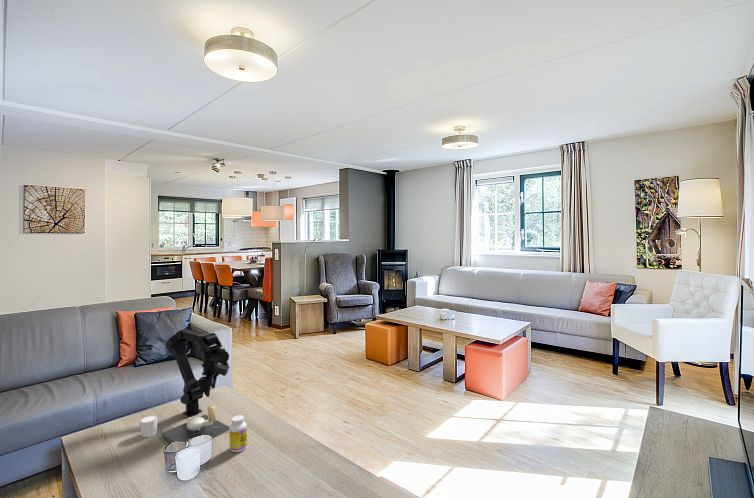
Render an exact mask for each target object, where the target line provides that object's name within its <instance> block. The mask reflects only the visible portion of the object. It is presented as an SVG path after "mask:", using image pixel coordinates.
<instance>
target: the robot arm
mask: <svg viewBox="0 0 754 498" xmlns="http://www.w3.org/2000/svg"><path fill="white" fill-rule="evenodd" d="M188 341H189V342H193V343H197V346H198V347H200V348H199V349H198V350H199V351H200V352H202V364H201V368H202V370H203V371H202V372H201V377H200V378H199V379H197V378H195V374H194V372H193V369H192V366H191V364H190V360H189V358H188V356H187V355H188V354H187V353H186V350H187V342H188ZM165 347H166V349H167V351H168V353H169V354H170V355H172V356H173V357H174V359H175V360H176V363H177V366H178V369H179V372H180V375H181V377H182V380H183V382H184V384H183V395H182V396H181V397H180V399H179V400H180V403H181V404H183V405H185V410H184V411H183V412H182V414H184V415H185V416H187V417H188V418H189V417H192V416H195V415H196V414H199V413H201V412H202V411H203V410H202V409H200V407H199V406H200V404H199V400H200V399H203V397H204V395H205V396H206V398H209V397H210V395H211V394H210V393H211V389H215V388H216V383H217V379H218V376H220V375H221V376H227V375H228V373H229V370H230V365H229V362H228V361H229V358H230V354H229V352H228V351H226V348H224V347H223V345H222V342H221V341H220V339H219V337H218V335H217V333H215V332H206V333H205V332H204V333H203V332H198V331H195V330H192V329H189V328H184V329H183V328H182V329H179V330H178V331H177V332H176V333H175V334H173V335H172V336H171V337H169V339H167V341H166V343H165Z"/></svg>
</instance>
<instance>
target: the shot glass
mask: <svg viewBox="0 0 754 498" xmlns="http://www.w3.org/2000/svg"><path fill="white" fill-rule="evenodd" d="M139 428H140V434H141V437H142V438H143V437H144V438H145V437H148V438H151V437H153V436H155V435H156V434H157V432H158V416H157V415H155V414H154V415H151V414H150V415H147V416H144V417H142V418H140V420H139ZM145 439H146V438H145Z"/></svg>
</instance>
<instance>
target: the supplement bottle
mask: <svg viewBox="0 0 754 498" xmlns="http://www.w3.org/2000/svg"><path fill="white" fill-rule="evenodd" d="M247 427H248V425H247V423H246V422H245V417H244V415H241V414H240V415H239V414H238V415H235V416H233V417H232V418H231V424H230V425H229V430H228V431H229V450H230V451H231V452H232V453H241V452H243V451H244V450H246V449H247V447H248V433H247V432H248V431H247Z"/></svg>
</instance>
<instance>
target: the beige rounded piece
mask: <svg viewBox="0 0 754 498" xmlns="http://www.w3.org/2000/svg"><path fill="white" fill-rule="evenodd" d="M207 416H208V420H204V418H202V417H200V416H197V417H194V418H191V419H189V420H188V421H186V423H187V429H188V430H196V429H199V428H201V427H203V426H205V425H212V423H213V422H214V421H215V420H217V419H216V417H217V415H216V406H215V405H209V407H207Z"/></svg>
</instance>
